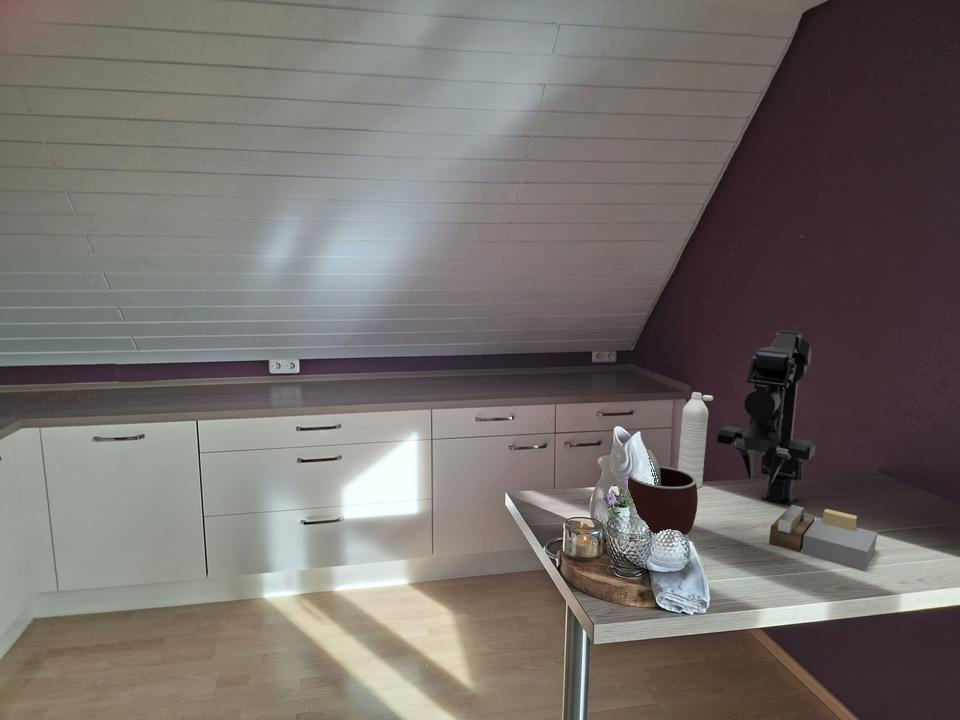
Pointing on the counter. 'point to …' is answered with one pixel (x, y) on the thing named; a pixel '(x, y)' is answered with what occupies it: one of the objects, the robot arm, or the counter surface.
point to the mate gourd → (665, 499)
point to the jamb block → (790, 534)
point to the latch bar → (791, 518)
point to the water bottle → (694, 437)
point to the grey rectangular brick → (840, 540)
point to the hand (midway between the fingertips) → (760, 480)
